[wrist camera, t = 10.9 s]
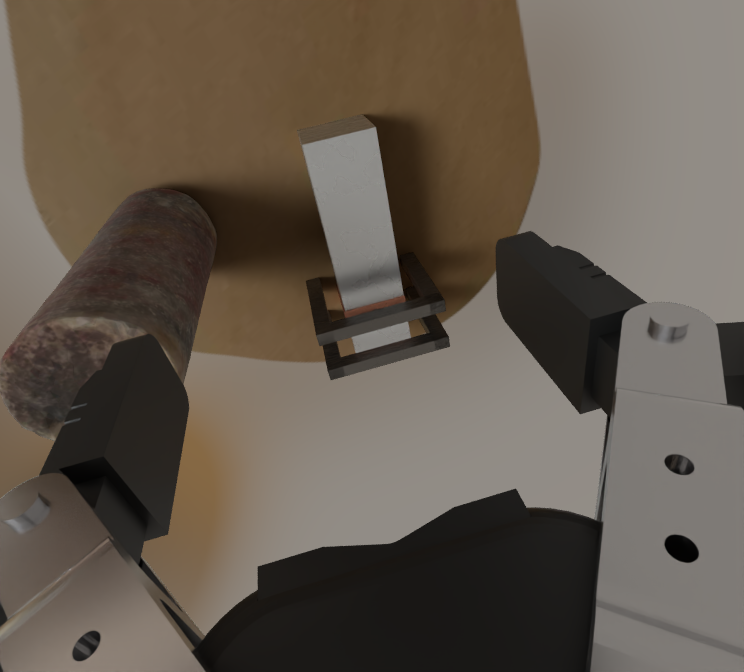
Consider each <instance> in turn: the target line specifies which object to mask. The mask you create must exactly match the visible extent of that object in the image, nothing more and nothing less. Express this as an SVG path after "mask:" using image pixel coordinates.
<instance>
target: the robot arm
mask: <svg viewBox="0 0 744 672" xmlns="http://www.w3.org/2000/svg"><path fill="white" fill-rule="evenodd" d="M496 275H497V299H498V305H499V309H500V312H501V314H502V317H503V319H504V320H505V322H506V323H507V325H508V326H509V327H510V328H511V329H512V331H513V332H514V333H515V334H516V336H517V337H518V338H519V339H520V341H521V342H522V343H523V344H524V346H525V347H526V348H527V349H528V351H529V352H530V353H531V354H532V355H533V357H534V358H535V359H536V360H537V362H538V363H539V364H540V365H541V367H542V368H543V369H544V370H545V371H546V373H547V374H548V375H549V376H550V378H551V379H552V380H553V381H554V383H555V384H556V385H557V386H558V388H559V389H560V390H561V391H562V392H563V394H564V395H565V396H566V397H567V399H568V400H569V401H570V402H571V404H572V405H573V406H574V407H575V408H576V410H577V411H578V412H579V413H580V414H583V413H586V412H589V411H593V410H596V409H600V408H602V409H603V411H604V412H605V413H606V414H607V420H606V426H605V435H604V443H603V452H602V461H601V469H600V478H599V486H598V495H597V503H596V511H595V517H594V519H591V518H589V517H586V516H583V515H579V514H576V513H572V512H569V511H563V510H557V509H551V508H536V507H535V508H526V506H525V504H524V502H523V501H522V499H521V497H520V495H519V493H518V491H517V490H516V489H513V490H510V491H507V492H503V493H500V494H496V495H493V496H490V497H487V498H483V499H480V500H477V501H473V502H470V503H467V504H463V505H460V506H457V507H454V508H452V509H451V510H449V511H447V512H445V513H444V514H442V515H440V516H439V517H437V518H436V519H434V520H432V521H430V522H429V523H427V524H425V525H424V526H422V527H421V528H419V529H417V530H415V531H414V532H412V533H410V534H409V535H407V536H405V537H404V538H402V539H400V540H398V541H396V542H394V543H391V544H380V545H379V544H378V545H356V546H335V547H321V548H318V549H315V550H312V551H308V552H305V553H301V554H298V555H295V556H291V557H288V558H285V559H282V560H279V561H275V562H272V563H268V564H265V565H262V566H258V590H257V591H255V592H254V593H252V594H250V595H249V596H248V597H246V598H245V599H243V600H242V601H241V602H239V603H238V604H237V605H235V606H234V607H233V608H232V609H231V610H230V611H229V612H228V613H227V614H225V615H224V616H223V617H222V618H221V619H220V620H219V621H218V623H217V624H216V625H215V626H214V627H213V628H212V629H211V630H210V631H209V632H208V633H207V635H206V636H205V635H204V634H203V633H202V632H201V631H200V629H199V628H198V627H197V626H196V624H195V623H194V622H193V621H192V619H191V618H190V617H189V616H188V614H187V613H186V612H185V610H184V609H183V608H182V607H181V605H180V604H179V603H178V602H177V600H176V599H175V598H174V596H173V595H172V594H171V593H170V591H169V590H168V589H167V587H166V586H165V585H164V584H163V582H162V581H161V580H160V579H159V577H158V576H157V575H156V573H155V572H154V571H153V570H152V568H151V567H150V566H149V564H148V563H147V562H146V561H145V560H144V559H143V558H142V557H141V553H142V548H143V543H144V541H147V540H150V539H154V538H157V537H160V536H164V535H167V534H168V531H169V525H170V519H171V513H172V506H173V501H174V495H175V489H176V483H177V477H178V471H179V465H180V460H181V453H182V447H183V442H184V436H185V430H186V424H187V417H188V412H189V403H188V396H187V393H186V390H185V387H184V385H183V383H182V381H181V380H180V378H179V376H178V375H177V373H176V371H175V369H174V368H173V366H172V364H171V363H170V361H169V359H168V357H167V356H166V354H165V352H164V350H163V349H162V347H161V345H160V344H159V342H158V340H157V339H156V338H155V337H154V336H153V335H151V334H146V335H142V336H138V337H135V338H131V339H127V340H124V341H120V342H116V343H114V344H113V345H112V347H111V349H110V352H109V354H108V356H107V358H106V361H105V363H104V365H103V368H102V370H98V371H96V372H95V373H94V374H93V375H92V376H91V377H90V378H89V379H88V381H87V382H86V383H85V384H84V385H83V386H82V387H81V388H80V389H79V391H78V393H77V396H76V398H75V400H74V402H73V404H72V406H71V408H72V410H70V411H69V413H68V415H67V417H66V419H65V421H64V423H65V425H64V426H62V428H61V430H60V432H59V434H58V436H57V438H56V440H55V442H54V445H53V447H52V449H51V451H50V453H49V455H48V457H47V460H46V462H45V464H44V466H43V468H42V470H41V472H40V474H39V476H37V477H34V478H32V479H29V480H27V481H25V482H24V483H22V484H20V485H18V486H17V487H15V488H14V489H12V490H11V491H10V492H8V493H7V494H6V495H5V496H3V497H2V498H1V499H0V672H744V322H736V323H719V324H715V322H714V321H713V320H712V319H711V318H710V317H708V316H707V315H706V314H704V313H703V312H701V311H699V310H697V309H694V308H692V307H689V306H686V305H682V304H677V303H670V302H652V303H647V302H645V301H644V300H643V299H641V298H640V297H639V296H637V295H636V294H634V293H633V292H632V291H630V290H629V289H628V288H626V287H625V286H624V285H622V284H621V283H620V282H618V281H617V280H615V279H614V278H613V277H611V276H610V275H606V272H605V271H603V270H602V269H601V268H599V267H598V266H594V264H593V263H592V262H591V261H590V260H588V259H587V258H586V257H584V256H583V255H582V254H580V253H578V252H576V251H573V250H570V249H567V248H563V247H561V246H554V247H551V246H550V245H549V244H548V243H547V242H545V241H544V240H543V239H542V238H540V237H539V236H538V235H536V234H535V233H533V232H531V231H529V232H525V233H521V234H518V235H514V236H510V237H507V238H503V239H500V240H498V241H497V244H496Z"/></svg>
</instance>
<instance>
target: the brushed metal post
mask: <svg viewBox="0 0 744 672" xmlns="http://www.w3.org/2000/svg"><path fill="white" fill-rule="evenodd" d="M297 132H298V136H299V140H300V144H301V148H302V151H303V155H304V159H305V163H306V167H307V171H308V174H309V178H310V182H311V186H312V190H313V194H314V197H315V201H316V205H317V209H318V213H319V217H320V221H321V224H322V228H323V232H324V236H325V240H326V244H327V247H328V251H329V255H330V259H331V263H332V267H333V270H334V274H335V278H336V282H337V284H336V286H337V290H338V294H339V298H340V302H341V305H342V309H343V312H344V315H345V318H348V317H352V316H355V315H359V314H363V313H366V312H370V311H373V310H377V309H381V308H384V307H388V306H392V305H395V304H399V303H402V302H406V299H405V295H404V293H403V288H402V282H401V276H400V270H399V264H398V258H397V252H396V246H395V240H394V234H393V228H392V222H391V216H390V210H389V204H388V198H387V192H386V186H385V180H384V173H383V167H382V161H381V155H380V149H379V143H378V137H377V131H376V127H375V126H374V125H373V124H372V123H371V122H370V121H369V120H368V119H367V118H366V117H365V116H364V115H363V114H362V115H358V116H353V117H349V118H345V119H341V120H337V121H333V122H329V123H325V124H320V125H316V126H312V127H308V128H304V129H300V130H297ZM351 338H352V342H353V345H354V348H355V352H356V353H359V352H362V351H366V350H369V349H373V348H376V347H380V346H384V345H387V344H391V343H394V342H398V341H401V340H405V339H409V338H411V337H410V331H409V325H408V322H404V323H401V324H397V325H394V326H390V327H386V328H383V329H379V330H376V331H372V332H368V333H365V334H361V335H358V336H354V337H351Z"/></svg>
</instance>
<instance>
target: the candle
mask: <svg viewBox="0 0 744 672" xmlns="http://www.w3.org/2000/svg"><path fill="white" fill-rule="evenodd" d="M216 247H217V234H216V231H215V228H214V226H213V224H212V222H211V220H210V218H209V217H208V215H207V213H206V212H205V211H204V210H203V209H202V208H201V206H200V205H199V204H198V203H197V202H196V201H195V200H194V199H192V198H191V197H189V196H188V195H186V194H183V193H180V192H178V191H175V190H171V189H145V190H141V191H138V192H136V193H134V194H132V195H130V196H129V197H128V198H126V199H125V200H124V201H123V202H122V203H121V205H120V206H119V207H118V208H117V209H116V210H115V212H114V213H113V214H112V215H111V216H110V218H109V219H108V220H107V221H106V223H105V224H104V225H103V227H102V228H101V229H100V231H99V232H98V234H97V235H96V236H95V237H94V239H93V240H92V241H91V243H90V244H89V245H88V247H87V248H86V249H85V250H84V252H83V253H82V254H81V256H80V257H79V259H78V260H77V261H76V262H75V263H74V265H73V266H72V268H71V269H70V270H69V272H68V273H67V274H66V276H65V277H64V278H63V279H62V281H61V282H60V283H59V285H58V286H57V287H56V289H55V290H54V291H53V292H52V294H51V295H50V296H49V297H48V298H47V299H46V300H45V302H44V303H43V305H42V306H41V307H40V308H39V310H38V311H37V312H36V314H35V315H34V316H33V317H32V318H31V319H30V320H29V322H28V323H27V324H26V326H25V327H24V328H23V329H22V331H21V332H20V333H19V335H18V336H17V337H16V339H15V340H14V341H13V343H12V344H11V345H10V347H9V348H8V349H7V351H6V352H5V354H4V356H3V358H2V359H1V361H0V393H1V396H2V399H3V402H4V404H5V406H6V407H7V408H8V411H9V413H10V414H11V415H12V416H13V417H14V419H15V420H16V421H17V422H18V423H19V424H20V425H21V427H22V428H24V429H27V430H30V431H33V432H35V433H36V434H38V435H39V436H42V437H44V438H47V439H50V440H53V441H55V440H56V438H57V436H58V434H59V432H60V430H61V428H62V426H64V425H65V423H64V421H65V419H66V417H67V415H68V413H69V411H70V410H72V408H71V406H72V404H73V402H74V400H75V398H76V396H77V393H78V391H79V389H80V388H81V387H82V386H83V385H84V384H85V383H86V382H87V381H88V379H89V378H90V377H91V376H92V375H93V374H94V373H95V372H96V371H98V370H102V368H103V365H104V363H105V361H106V358H107V356H108V354H109V352H110V349H111V347H112V345H113V344H114V343H116V342H120V341H124V340H127V339H131V338H135V337H138V336H142V335H146V334H151V335H153V336H154V337H155V338H156V339H157V340H158V342H159V344H160V345H161V347H162V349H163V350H164V352H165V354H166V356H167V357H168V359H169V361H170V363H171V364H172V366H173V368H174V369H175V371H176V373H177V375H178V376H179V378H180V380H181V381H182V383H184V379H185V376H186V372H187V368H188V364H189V360H190V356H191V351H192V346H193V342H194V338H195V333H196V330H197V325H198V320H199V317H200V313H201V308H202V304H203V300H204V296H205V291H206V286H207V283H208V279H209V275H210V271H211V268H212V264H213V261H214V256H215V251H216Z"/></svg>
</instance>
